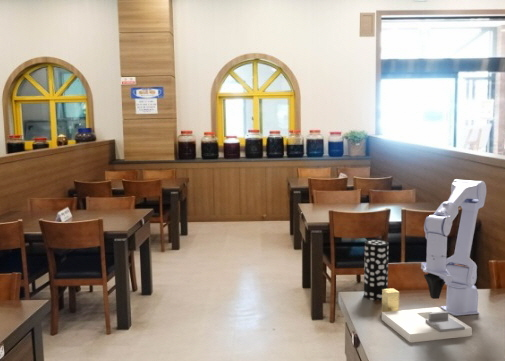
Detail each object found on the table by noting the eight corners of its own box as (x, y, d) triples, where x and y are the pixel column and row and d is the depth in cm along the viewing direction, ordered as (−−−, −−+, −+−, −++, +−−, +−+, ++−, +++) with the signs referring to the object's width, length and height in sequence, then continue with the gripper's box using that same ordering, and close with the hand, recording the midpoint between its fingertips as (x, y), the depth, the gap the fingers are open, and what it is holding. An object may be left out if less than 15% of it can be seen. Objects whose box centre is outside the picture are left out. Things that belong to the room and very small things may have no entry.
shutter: (449, 319, 164) (449, 310, 164) (464, 329, 157) (465, 320, 156) (425, 322, 163) (425, 313, 162) (440, 332, 155) (440, 322, 155)
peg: (392, 311, 179) (393, 288, 178) (398, 315, 175) (399, 292, 174) (381, 312, 178) (382, 289, 177) (387, 316, 174) (387, 293, 173)
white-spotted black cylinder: (383, 302, 188) (384, 246, 186) (360, 297, 192) (361, 243, 190) (390, 295, 195) (391, 241, 193) (368, 291, 199) (369, 238, 197)
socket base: (437, 314, 176) (437, 307, 176) (471, 335, 159) (471, 327, 158) (381, 319, 172) (381, 312, 171) (410, 342, 154) (410, 334, 154)
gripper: (412, 249, 169) (411, 291, 170) (436, 261, 155) (435, 307, 156) (433, 248, 170) (431, 289, 172) (459, 260, 156) (457, 305, 158)
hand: (434, 298), depth 164 cm, fingers closed
